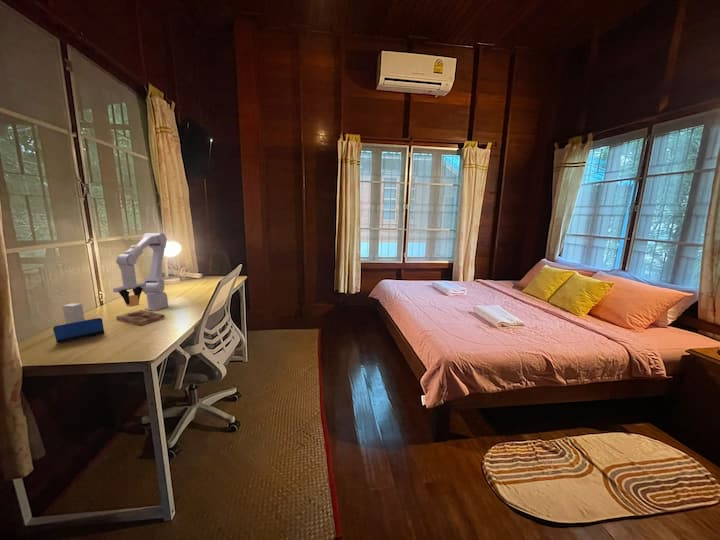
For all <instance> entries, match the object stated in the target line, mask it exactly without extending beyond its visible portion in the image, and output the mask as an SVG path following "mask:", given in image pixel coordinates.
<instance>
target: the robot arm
mask: <svg viewBox="0 0 720 540" xmlns="http://www.w3.org/2000/svg"><path fill="white" fill-rule="evenodd" d="M167 238H168V237H166V234H165V233H164V232H145V233H144V234H143V235H142V238H141V240H140V241H139V242H138V243H137V244H136V245H135V244H134V245H131V246H130V248H128V249H127V250H125V251H124V253H123V254H119V255H117V257H116V260H115V262H116V264H117V266H118V268H119V269H120V273H121V279H122V286H118V287H113V288H112V291H113V293H118V294H119V295H120V296H121V297H122V299H123V301H124V302H125V305H126V304H129V296H130V291H128V290H132V292H133V295H137V296H138V300H139V301H140V297H141V295H142V292H143V293H144V295H146V301H147V307H145V308H144V310H147V309H148V311H151V310H154V311H157V309H158V310H161V308H162V309H165V308H168V307H170V305H169V301H168V300H169V299H168V294H167V293H166V292H165V280H164V279H162V277H161V275H162V274H161V272H162V267H163V260H164V254H165V249H166V247H167V240H168V239H167ZM147 247H148V248H150V249H151V250H153V251H152V256H151V264H150V268H149V273H148V274H149V275H148V276H147V277H146V278H144V280H143V282H140V283H137V277H136V267H135V265H136V264H137V261H138V258H139V257H140V256H142V254H143V253H144V249H146V248H147Z"/></svg>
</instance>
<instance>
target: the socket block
mask: <svg viewBox="0 0 720 540" xmlns="http://www.w3.org/2000/svg"><path fill="white" fill-rule="evenodd" d="M115 317H116V318H115V319H116V321H118V320H119V322H122V321H123V323H126V322H127V324H130V323H132V324H131V325H134V324H136V325H135V326H138V325H141V326H145V325H147V323H148V324H151V323H154V322H157V320H158V321H160V319H161V320H163V318H164V319H165V314H162V313H157V312H154V311H150V310H148V311H147V310H145V309H144V310H143V309H139V310H135V311H131V312H129V313H123V314H120V315H116V316H115ZM153 321H154V322H153ZM150 322H151V323H150ZM144 324H145V325H144Z"/></svg>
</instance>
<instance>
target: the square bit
mask: <svg viewBox="0 0 720 540" xmlns="http://www.w3.org/2000/svg"><path fill="white" fill-rule="evenodd" d="M125 306H126V307H130V308H132V307H133V308H134V307H136V306H140V299H139V300H138V296H137V295H134V294H131V295H130V294H129V304H126V303H125Z"/></svg>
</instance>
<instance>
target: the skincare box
mask: <svg viewBox="0 0 720 540" xmlns="http://www.w3.org/2000/svg"><path fill="white" fill-rule="evenodd" d="M61 306H62V312H63V318H64V324H69V323H74V322H79V321H85V320H86V319H85V315H84V309H83V304H82V303H67V304H64V305H61Z"/></svg>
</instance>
